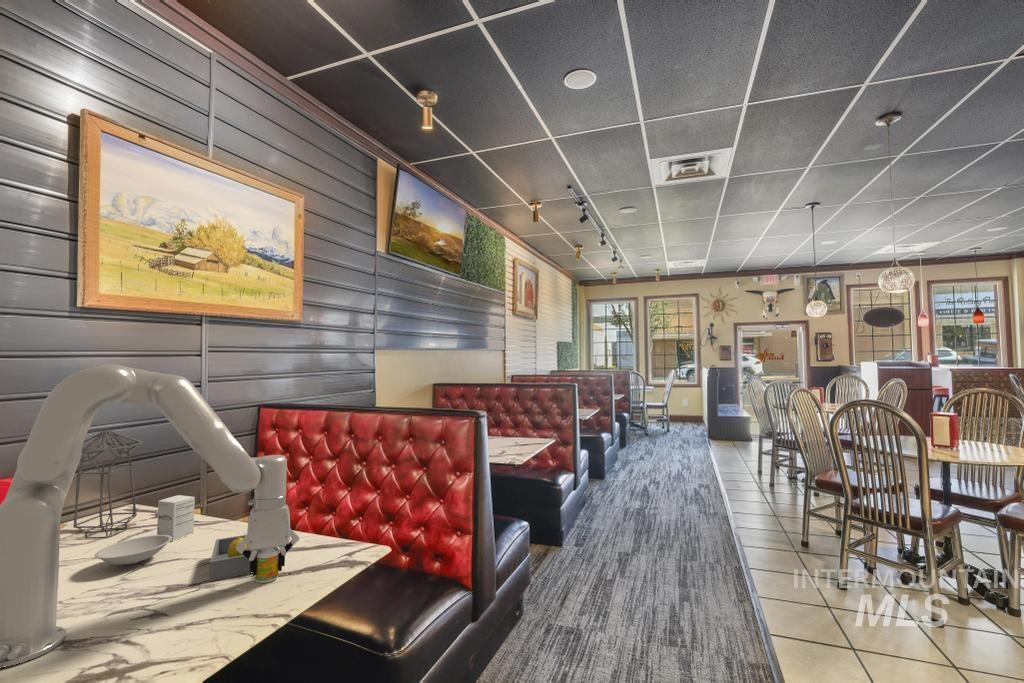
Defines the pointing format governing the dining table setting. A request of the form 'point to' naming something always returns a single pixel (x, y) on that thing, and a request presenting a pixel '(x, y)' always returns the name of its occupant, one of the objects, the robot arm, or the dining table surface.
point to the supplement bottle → (267, 565)
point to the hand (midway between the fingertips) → (267, 570)
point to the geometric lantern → (115, 436)
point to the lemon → (232, 548)
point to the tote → (227, 561)
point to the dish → (133, 549)
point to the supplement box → (176, 516)
